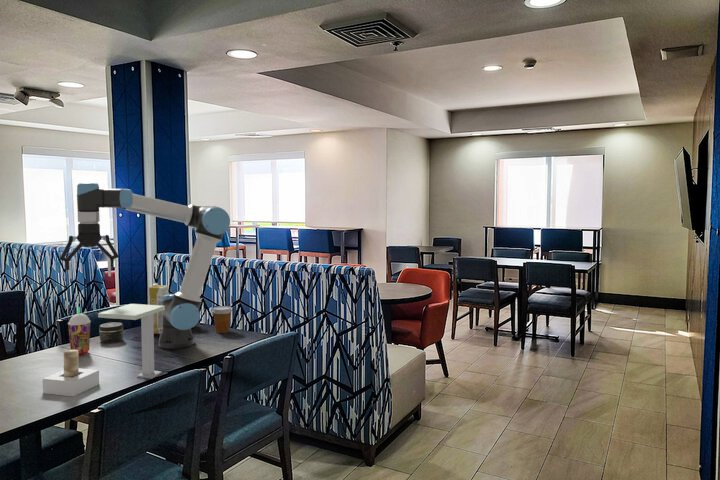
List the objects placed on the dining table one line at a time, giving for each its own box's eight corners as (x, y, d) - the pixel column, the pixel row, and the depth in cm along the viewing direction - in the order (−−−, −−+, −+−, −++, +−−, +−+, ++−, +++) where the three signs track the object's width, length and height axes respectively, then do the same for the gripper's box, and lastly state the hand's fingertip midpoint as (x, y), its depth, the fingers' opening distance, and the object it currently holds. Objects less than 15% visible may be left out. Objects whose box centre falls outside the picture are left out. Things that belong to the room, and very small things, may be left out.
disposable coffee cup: (214, 335, 251) (214, 310, 250) (210, 330, 259) (210, 306, 258) (234, 332, 255) (234, 309, 254) (229, 328, 264) (229, 305, 263)
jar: (116, 344, 233) (116, 327, 233) (95, 343, 233) (94, 327, 233) (127, 338, 243) (127, 322, 242) (106, 337, 243) (105, 321, 243)
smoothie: (81, 357, 212) (80, 309, 211) (64, 356, 214) (62, 308, 212) (95, 352, 220) (94, 305, 219) (78, 350, 222) (77, 304, 221)
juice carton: (156, 329, 260) (155, 282, 258) (171, 330, 259) (170, 282, 257) (146, 333, 251) (145, 285, 249) (161, 334, 250) (160, 285, 248)
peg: (77, 382, 181) (77, 348, 180) (79, 386, 177) (79, 352, 176) (63, 384, 178) (63, 350, 177) (64, 388, 175) (64, 353, 174)
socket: (70, 381, 185) (69, 367, 185) (99, 384, 183) (98, 370, 182) (42, 393, 173) (42, 378, 173) (73, 396, 171) (73, 381, 170)
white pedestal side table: (99, 380, 186) (98, 313, 185) (131, 364, 204) (130, 303, 202) (141, 384, 183) (140, 316, 181) (170, 368, 200) (169, 306, 199)
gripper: (122, 222, 210) (123, 273, 212) (51, 222, 197) (52, 278, 198) (125, 222, 204) (126, 276, 206) (51, 223, 190) (53, 280, 192)
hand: (90, 277), depth 202 cm, fingers open, 13 cm apart
